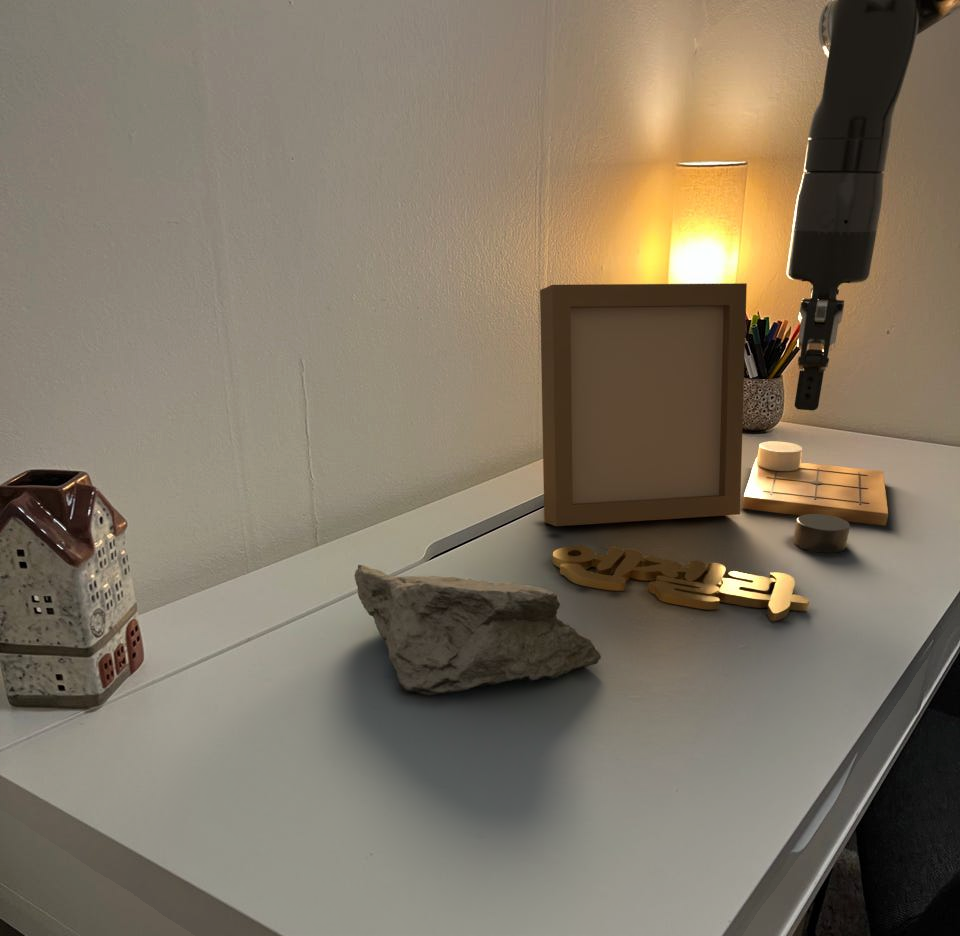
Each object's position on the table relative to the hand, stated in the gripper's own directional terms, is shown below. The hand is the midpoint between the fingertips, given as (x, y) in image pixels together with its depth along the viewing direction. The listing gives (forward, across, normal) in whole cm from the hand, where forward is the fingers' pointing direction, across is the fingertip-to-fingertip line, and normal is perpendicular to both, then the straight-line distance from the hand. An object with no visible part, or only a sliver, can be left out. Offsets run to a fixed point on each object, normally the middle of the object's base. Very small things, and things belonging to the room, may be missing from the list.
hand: (807, 400), depth 97 cm
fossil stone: (+15, -38, +24) cm, 47 cm away
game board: (+15, +18, -2) cm, 24 cm away
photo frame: (+15, +5, +18) cm, 24 cm away
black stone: (+15, 0, -4) cm, 16 cm away
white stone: (+14, +25, +2) cm, 28 cm away
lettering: (+15, -16, +10) cm, 24 cm away
